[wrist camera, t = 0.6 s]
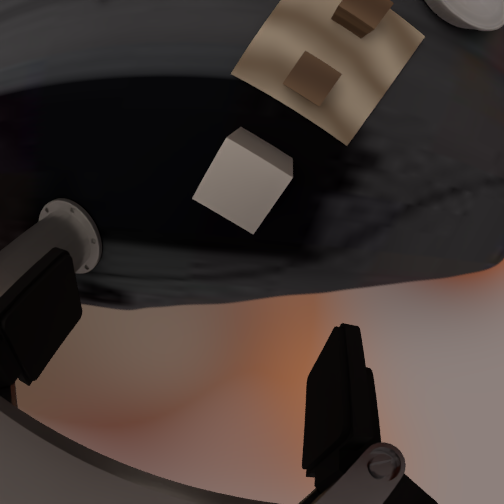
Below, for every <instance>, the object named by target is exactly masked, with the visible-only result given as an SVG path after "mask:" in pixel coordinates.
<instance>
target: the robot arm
mask: <svg viewBox="0 0 504 504" xmlns="http://www.w3.org/2000/svg"><path fill="white" fill-rule="evenodd" d="M101 254H102V243H101V238H100V234H99V231H98V229H97V226H96V224H95V223H94V221H93V219H92V218H91V216H90V215H89V214H88V213H87V211H86V210H84V209H83V208H82V207H81V206H80V205H79V204H77V203H76V202H74V201H71V200H69V199H65V198H58V199H55V200H52V201H51V202H49V203H47V204H46V205H45V206H44V207H43V209H42V211H41V213H40V216H39V222H38V223H36V224H35V225H33V226H32V227H31V228H29V229H28V230H27V231H25V232H24V233H23V234H21V235H20V236H19V237H17V238H16V239H15V240H14V241H12V242H11V243H10V244H9V245H7V246H6V247H5V248H4V249H2V250H1V251H0V504H277V503H270V502H263V501H257V500H250V499H245V498H239V497H235V496H230V495H225V494H221V493H216V492H212V491H207V490H203V489H199V488H195V487H192V486H188V485H184V484H181V483H177V482H174V481H171V480H168V479H165V478H161V477H158V476H155V475H152V474H150V473H147V472H144V471H141V470H138V469H136V468H133V467H131V466H128V465H125V464H123V463H120V462H118V461H116V460H113V459H111V458H109V457H106V456H104V455H102V454H100V453H97V452H95V451H93V450H91V449H88V448H87V447H85V446H83V445H81V444H78V443H77V442H75V441H73V440H71V439H69V438H67V437H65V436H63V435H61V434H60V433H57V432H56V431H54V430H52V429H51V428H49V427H47V426H45V425H44V424H42V423H40V422H39V421H37V420H35V419H34V418H32V417H31V416H29V415H28V414H26V413H24V412H23V411H21V410H20V409H18V406H17V398H16V387H15V381H16V379H17V378H19V380H20V381H22V382H24V383H25V384H27V385H28V386H30V384H31V383H32V381H35V380H37V378H38V377H39V375H40V374H41V373H42V371H43V370H44V368H45V367H46V365H47V364H48V362H49V361H50V359H51V358H52V357H53V355H54V354H55V352H56V351H57V350H58V348H59V347H60V345H61V344H62V343H63V341H64V340H65V338H66V337H67V335H68V334H69V333H70V332H71V330H72V329H73V328H74V326H75V325H76V324H77V322H78V321H79V319H80V318H81V315H82V307H81V302H80V297H79V293H78V287H77V282H76V277H75V273H78V274H82V273H87V272H89V271H91V270H92V269H93V268H94V267H95V266H96V265H97V264H98V262H99V260H100V257H101ZM305 410H306V411H305V428H304V443H303V444H304V445H303V458H302V468H303V469H307V471H306V477H315V487H316V488H315V489H314V490H313V491H312V492H311V493H310V494H309V495H308V496H307V497H305V498H304V499H303V500H302V501H301V502H300V503H299V504H438V503H437V502H436V501H435V500H434V499H433V498H431V497H430V496H429V495H428V494H427V493H425V492H424V491H423V490H422V489H421V488H420V487H419V486H418V485H417V484H415V483H414V482H413V481H412V480H411V479H410V478H409V477H408V476H406V475H405V474H404V472H405V459H404V457H403V455H402V453H401V452H400V450H399V449H398V448H396V447H395V446H393V445H391V444H388V443H381V436H380V426H379V417H378V409H377V400H376V392H375V385H374V378H373V373H372V370H371V369H370V368H367V367H366V366H365V358H364V351H363V345H362V338H361V332H360V328H359V327H358V326H354V325H349V324H344V323H342V324H341V325H340V327H334V329H333V331H332V333H331V335H330V336H329V339H328V340H327V342H326V344H325V346H324V348H323V350H322V352H321V353H320V355H319V357H318V359H317V361H316V363H315V364H314V366H313V368H312V370H311V372H310V374H309V376H308V379H307V387H306V409H305Z"/></svg>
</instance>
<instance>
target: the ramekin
mask: <svg viewBox="0 0 504 504" xmlns="http://www.w3.org/2000/svg"><path fill="white" fill-rule="evenodd" d="M424 1H425V2H426V3H427V5H428V6H429V7H430V8H431V9H432V10H433V12H434V13H436V14H437V15H438V16H439V17H440V18H442V19H443V20H445V21H446V22H448V23H450V24H452V25H454V26H456V27H460V28H465V29H476V30H480V31H492V30H496V29H498V28H500V27H502V26H503V25H504V0H424Z"/></svg>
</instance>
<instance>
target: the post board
mask: <svg viewBox="0 0 504 504" xmlns="http://www.w3.org/2000/svg"><path fill="white" fill-rule="evenodd" d="M341 1H342V0H281V1H280V2H279V4H278V5H277V6H276V8H275V9H274V10H273V12H272V13H271V15H270V16H269V17H268V19H267V20H266V22H265V23H264V24H263V26H262V27H261V29H260V30H259V32H258V33H257V35H256V36H255V37H254V39H253V40H252V42H251V43H250V45H249V46H248V48H247V49H246V51H245V53H244V54H243V56H242V57H241V59H240V60H239V62H238V63H237V65H236V67H235V68H234V70H233V71H232V73H231V74H232V75H234V76H236V77H238V78H240V79H242V80H243V81H245V82H247V83H249V84H251V85H253V86H254V87H256V88H258V89H260V90H261V91H263V92H265V93H267V94H268V95H270V96H272V97H273V98H275V99H277V100H278V101H280V102H282V103H283V104H285V105H287V106H288V107H290V108H291V109H293V110H295V111H296V112H298V113H299V114H301V115H303V116H304V117H306V118H307V119H309V120H310V121H312V122H313V123H315V124H316V125H318V126H319V127H321V128H322V129H324V130H325V131H327V132H328V133H329V134H331V135H332V136H334V137H335V138H337V139H338V140H339V141H341V142H342V143H344V144H345V145H346V146H347V145H348V144H349V142H350V141H351V140H352V138H353V137H354V135H355V134H356V133H357V131H358V130H359V129H360V127H361V126H362V124H363V123H364V122H365V120H366V119H367V117H368V116H369V115H370V113H371V112H372V111H373V109H374V108H375V106H376V105H377V104H378V102H379V101H380V99H381V98H382V97H383V95H384V94H385V92H386V91H387V90H388V88H389V87H390V85H391V84H392V83H393V81H394V80H395V78H396V77H397V76H398V74H399V73H400V71H401V70H402V68H403V67H404V66H405V64H406V63H407V61H408V60H409V59H410V57H411V56H412V54H413V53H414V51H415V50H416V49H417V47H418V46H419V44H420V43H421V42H422V40H423V39H424V37H425V36H424V35H422V34H421V33H420V32H419V31H418V30H417V29H415V28H414V27H413V26H412V25H410V24H409V23H408V22H407V21H405V20H404V19H403V18H401V17H400V16H399V15H398V14H396V13H395V12H394V11H392V10H391V9H389V10H388V12H387V13H386V14H385V16H384V17H383V18H382V20H381V21H380V23H379V24H378V25H377V27H376V28H375V29H374V30H373V31H371V32H370V33H368V34H367V35H366V36H364V37H363V38H359V37H358V36H356V35H355V34H353V33H352V32H350V31H349V30H347V29H346V28H344V27H343V26H341V25H340V24H338V23H336V22H335V21H333V20H332V19H331V18H332V16H333V14H334V12H335V10H336V9H337V7H338V5H339V4H340V3H341Z"/></svg>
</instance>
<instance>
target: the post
mask: <svg viewBox="0 0 504 504" xmlns="http://www.w3.org/2000/svg"><path fill="white" fill-rule="evenodd" d="M393 4H394V3H393V2H391V1H390V0H342V1H341V3H340V4H339V5H338V7H337V9H336V10H335V12H334V14H333V16H332V18H331V19H332V20H333V21H335V22H336V23H338V24H340V25H341V26H343V27H344V28H346V29H347V30H349V31H350V32H352V33H353V34H355V35H356V36H358V37H359V38H363V37H364V36H366V35H367V34H368V33H370V32H371V31H373V30H374V29H375V28H376V27H377V25H378V24H379V23H380V21H381V20H382V18H383V17H384V16H385V14H386V13H387V12H388V10H389V9H390V8H391V6H392V5H393Z"/></svg>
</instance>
